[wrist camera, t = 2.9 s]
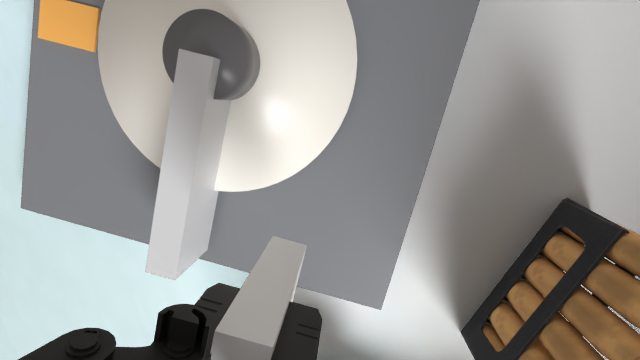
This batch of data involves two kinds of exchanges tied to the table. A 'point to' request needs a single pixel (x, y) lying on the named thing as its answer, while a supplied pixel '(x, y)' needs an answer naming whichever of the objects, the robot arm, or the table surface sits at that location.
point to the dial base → (275, 200)
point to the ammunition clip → (564, 294)
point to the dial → (223, 100)
